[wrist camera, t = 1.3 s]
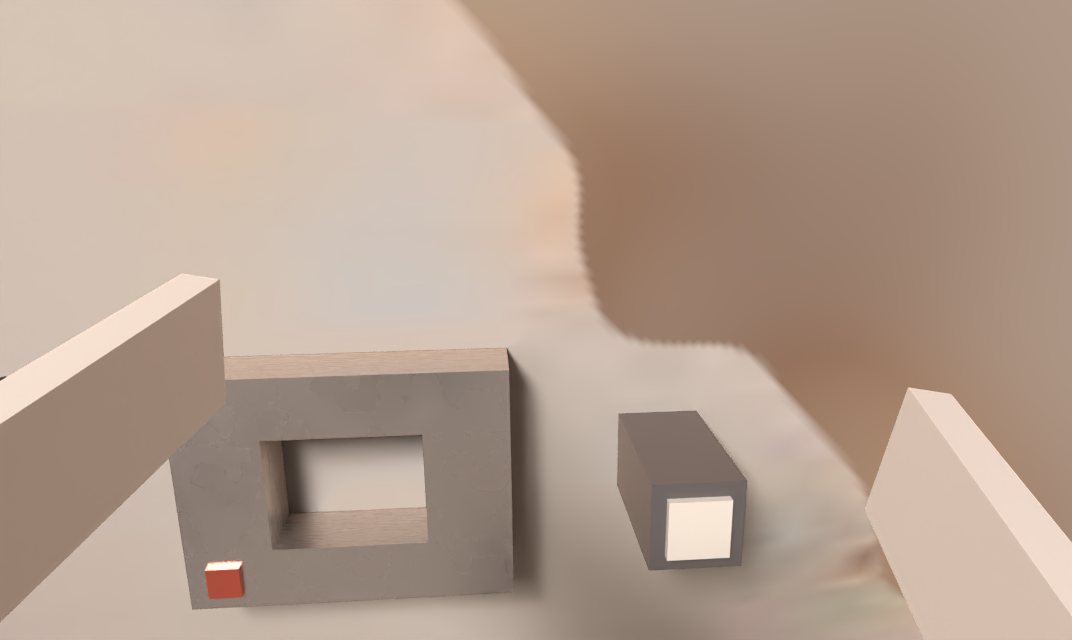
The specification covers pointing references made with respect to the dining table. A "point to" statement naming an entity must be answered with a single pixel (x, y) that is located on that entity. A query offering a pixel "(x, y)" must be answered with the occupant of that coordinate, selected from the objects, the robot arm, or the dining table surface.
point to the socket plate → (349, 536)
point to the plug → (680, 491)
